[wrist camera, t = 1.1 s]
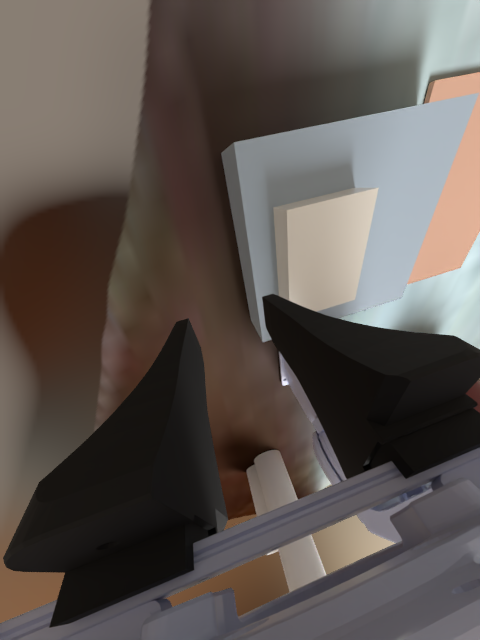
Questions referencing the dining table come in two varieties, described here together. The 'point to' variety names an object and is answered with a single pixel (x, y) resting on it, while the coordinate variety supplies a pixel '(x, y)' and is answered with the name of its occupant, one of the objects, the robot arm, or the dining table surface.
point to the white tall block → (275, 492)
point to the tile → (323, 247)
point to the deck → (341, 174)
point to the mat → (454, 190)
